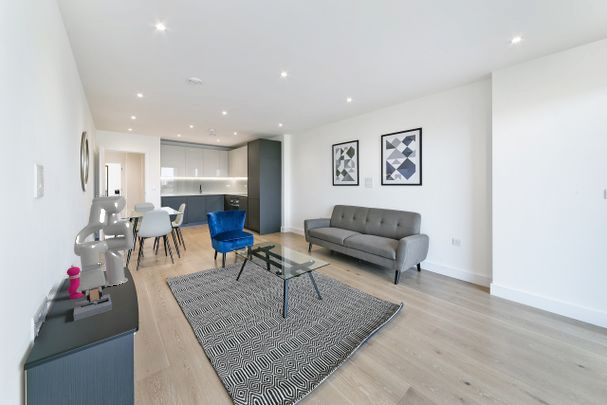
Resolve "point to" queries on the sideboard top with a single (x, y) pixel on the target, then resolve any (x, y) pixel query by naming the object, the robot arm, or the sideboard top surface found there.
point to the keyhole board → (91, 307)
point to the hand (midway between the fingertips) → (94, 299)
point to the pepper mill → (74, 282)
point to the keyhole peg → (94, 295)
